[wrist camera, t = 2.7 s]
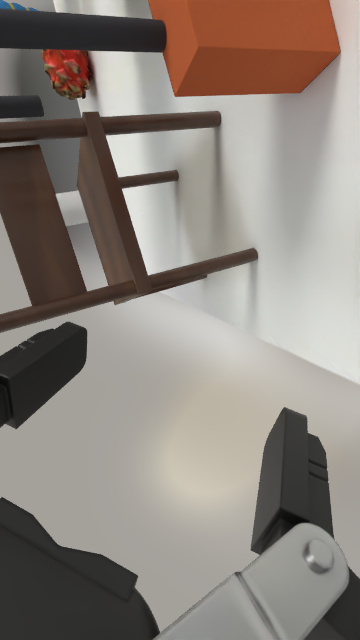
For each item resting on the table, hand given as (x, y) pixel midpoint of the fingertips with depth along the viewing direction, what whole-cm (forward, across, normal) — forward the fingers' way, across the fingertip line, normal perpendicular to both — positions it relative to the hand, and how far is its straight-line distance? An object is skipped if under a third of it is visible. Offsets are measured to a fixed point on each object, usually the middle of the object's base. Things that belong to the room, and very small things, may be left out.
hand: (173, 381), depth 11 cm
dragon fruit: (+51, +40, -17) cm, 67 cm away
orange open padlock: (+17, +2, -14) cm, 22 cm away
